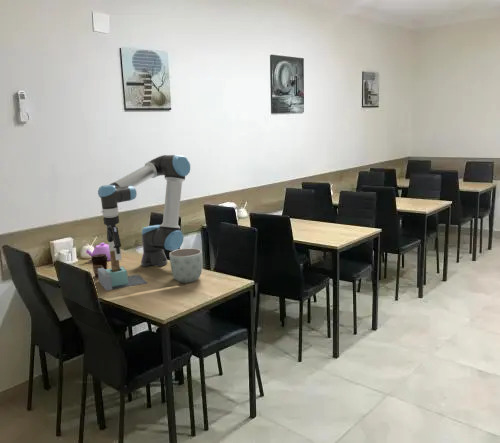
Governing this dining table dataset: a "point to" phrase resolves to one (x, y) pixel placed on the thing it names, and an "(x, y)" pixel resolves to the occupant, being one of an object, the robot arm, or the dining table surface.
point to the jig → (107, 283)
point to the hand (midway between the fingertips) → (115, 256)
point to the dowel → (114, 262)
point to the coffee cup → (99, 263)
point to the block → (118, 277)
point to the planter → (186, 264)
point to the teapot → (100, 250)
